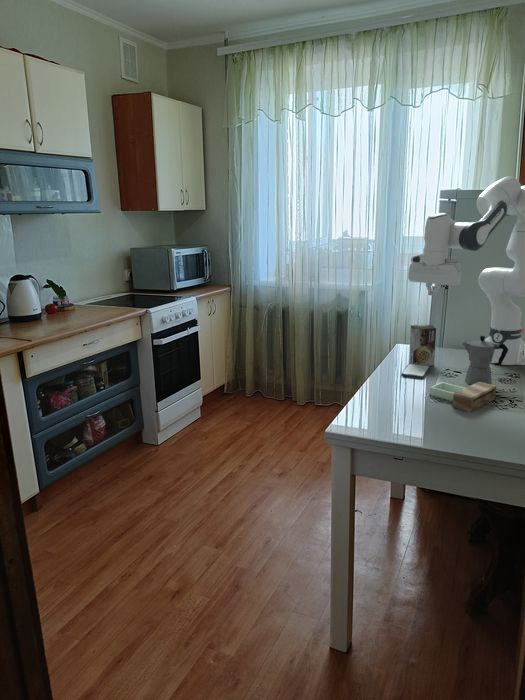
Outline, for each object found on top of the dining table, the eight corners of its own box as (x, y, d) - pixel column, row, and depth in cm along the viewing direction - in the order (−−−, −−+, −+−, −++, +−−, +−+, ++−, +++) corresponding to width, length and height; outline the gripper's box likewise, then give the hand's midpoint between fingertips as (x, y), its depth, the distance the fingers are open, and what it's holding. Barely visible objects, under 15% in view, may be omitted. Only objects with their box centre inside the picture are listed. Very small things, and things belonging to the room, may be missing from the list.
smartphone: (408, 367, 212) (400, 377, 198) (408, 363, 212) (400, 373, 198) (430, 369, 209) (423, 380, 195) (430, 365, 208) (424, 376, 194)
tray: (441, 389, 183) (442, 381, 182) (484, 401, 171) (485, 393, 171) (429, 395, 178) (429, 387, 177) (473, 407, 166) (473, 398, 166)
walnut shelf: (477, 394, 178) (479, 381, 177) (494, 399, 173) (496, 385, 172) (452, 407, 167) (453, 393, 166) (470, 412, 163) (471, 398, 161)
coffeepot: (458, 384, 188) (462, 337, 183) (459, 377, 196) (463, 331, 192) (504, 389, 182) (509, 340, 177) (504, 381, 190) (509, 334, 186)
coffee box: (429, 361, 217) (432, 324, 213) (434, 366, 211) (437, 327, 207) (408, 361, 217) (410, 324, 213) (412, 366, 211) (414, 328, 207)
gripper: (466, 259, 184) (462, 297, 188) (416, 256, 199) (414, 291, 203) (457, 260, 180) (453, 299, 184) (407, 257, 195) (405, 293, 199)
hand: (432, 295), depth 193 cm, fingers closed
